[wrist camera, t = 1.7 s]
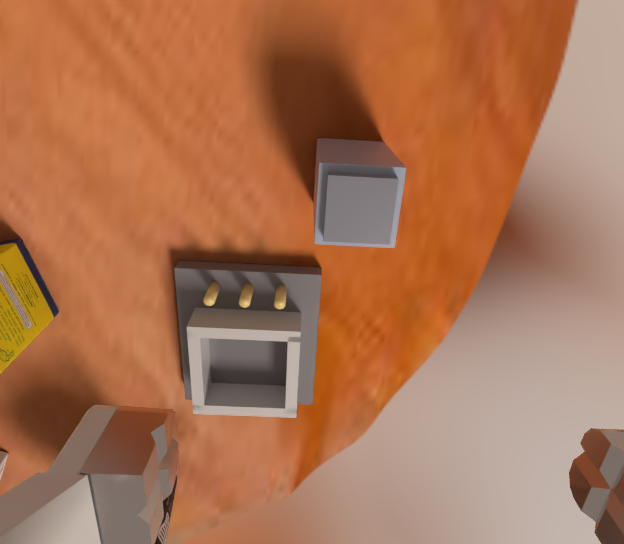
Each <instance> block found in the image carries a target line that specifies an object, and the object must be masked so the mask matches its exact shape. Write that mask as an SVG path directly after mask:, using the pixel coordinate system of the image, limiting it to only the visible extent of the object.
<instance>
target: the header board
mask: <svg viewBox="0 0 624 544" xmlns="http://www.w3.org/2000/svg"><path fill="white" fill-rule="evenodd" d="M174 271H175V283H176V295H177V306H178V318H179V330H180V341H181V353H182V364H183V376H184V388H185V399H187V400H192V403H193V414H211V415H237V416H263V417H289V418H296V412H297V404H312V401H313V387H314V374H315V360H316V346H317V333H318V319H319V305H320V291H321V278H322V272H321V267H305V266H284V265H263V264H243V263H222V262H201V261H181V260H179V261H178V263H177V264H176V266H175V268H174Z"/></svg>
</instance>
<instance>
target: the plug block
mask: <svg viewBox="0 0 624 544" xmlns="http://www.w3.org/2000/svg"><path fill="white" fill-rule="evenodd" d="M405 174H406V167H405V166H404V164H403V163H402V162H401V161H400V160H399V159H398V158H397V156H396V155H395V154H394V153H393V152H392V151H391V150H390V148H389V147H388V146H387V145H386V144H385V143H384V142H382V141H364V140H347V139H329V138H317V148H316V165H315V182H314V199H313V211H314V244H324V245H344V246H364V247H385V248H395V242H396V235H397V228H398V221H399V214H400V208H401V201H402V194H403V187H404V180H405Z"/></svg>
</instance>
